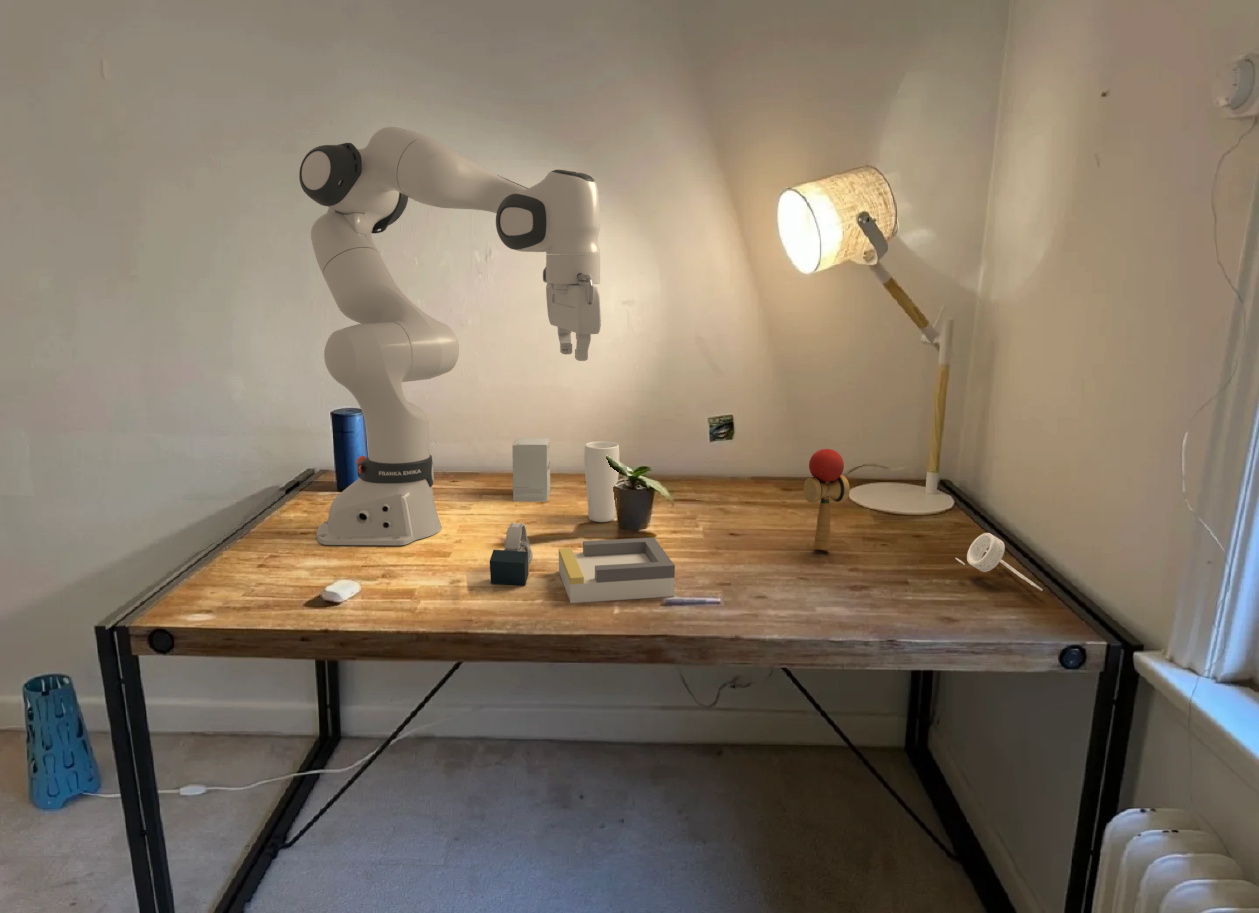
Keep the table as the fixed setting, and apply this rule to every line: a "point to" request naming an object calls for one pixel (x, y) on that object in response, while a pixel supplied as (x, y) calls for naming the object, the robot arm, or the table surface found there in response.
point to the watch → (512, 558)
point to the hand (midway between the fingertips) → (573, 357)
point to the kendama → (825, 490)
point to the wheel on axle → (989, 555)
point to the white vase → (600, 480)
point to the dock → (612, 587)
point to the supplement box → (531, 469)
